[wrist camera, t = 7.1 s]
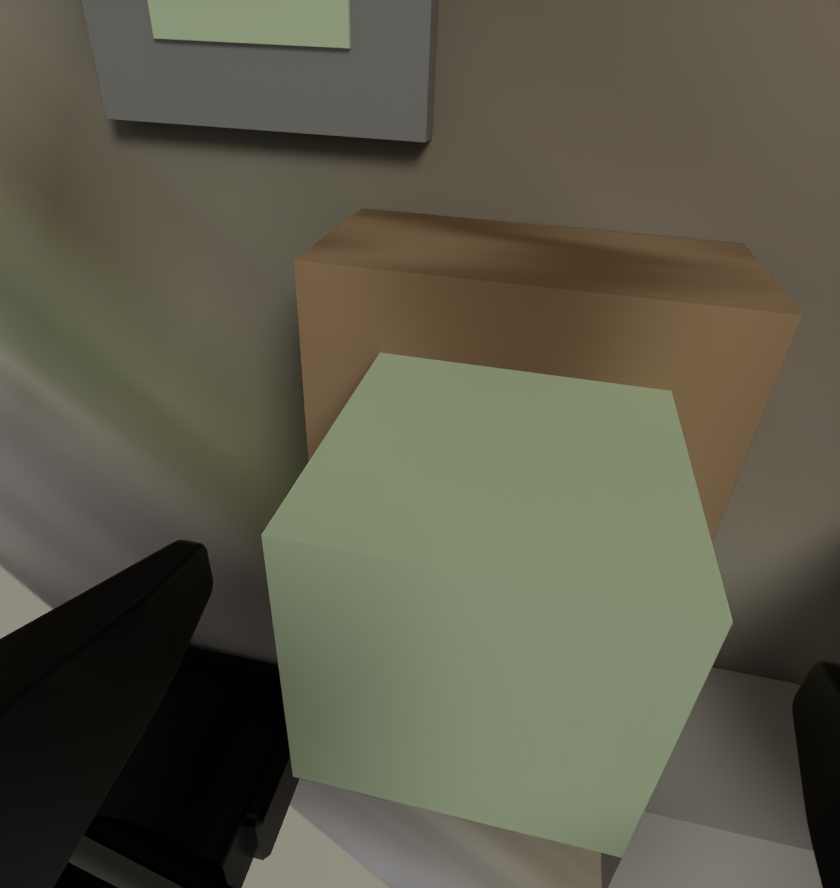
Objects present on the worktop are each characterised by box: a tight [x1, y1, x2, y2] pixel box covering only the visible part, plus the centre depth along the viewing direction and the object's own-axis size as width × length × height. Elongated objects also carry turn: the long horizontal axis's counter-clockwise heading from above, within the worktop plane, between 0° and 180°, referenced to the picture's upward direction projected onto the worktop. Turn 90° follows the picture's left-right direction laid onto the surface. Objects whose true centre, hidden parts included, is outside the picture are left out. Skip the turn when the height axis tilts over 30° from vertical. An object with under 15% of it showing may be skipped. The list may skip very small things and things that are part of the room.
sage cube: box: [261, 353, 733, 858], centre depth 10 cm, size 5×5×5 cm
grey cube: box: [601, 667, 822, 888], centre depth 18 cm, size 5×5×5 cm
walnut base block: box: [294, 209, 802, 541], centre depth 14 cm, size 8×8×4 cm
